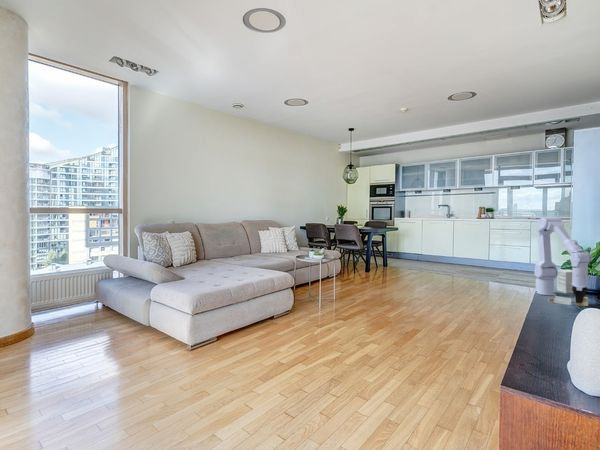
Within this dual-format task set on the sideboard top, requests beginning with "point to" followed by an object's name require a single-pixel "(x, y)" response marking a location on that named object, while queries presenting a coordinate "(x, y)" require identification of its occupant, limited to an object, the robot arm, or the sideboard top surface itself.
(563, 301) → the acrylic channel
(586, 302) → the maple block
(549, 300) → the trap plate
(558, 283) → the supplement box
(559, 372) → the sideboard top surface
